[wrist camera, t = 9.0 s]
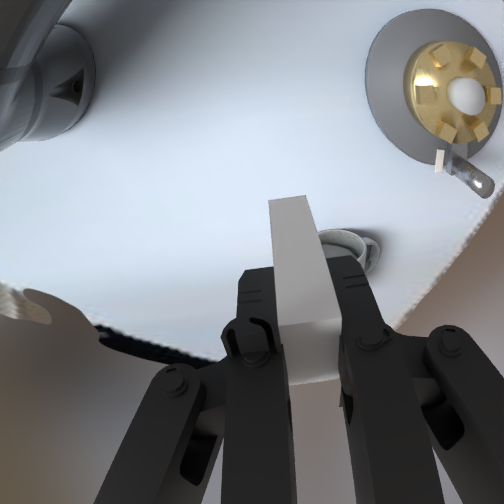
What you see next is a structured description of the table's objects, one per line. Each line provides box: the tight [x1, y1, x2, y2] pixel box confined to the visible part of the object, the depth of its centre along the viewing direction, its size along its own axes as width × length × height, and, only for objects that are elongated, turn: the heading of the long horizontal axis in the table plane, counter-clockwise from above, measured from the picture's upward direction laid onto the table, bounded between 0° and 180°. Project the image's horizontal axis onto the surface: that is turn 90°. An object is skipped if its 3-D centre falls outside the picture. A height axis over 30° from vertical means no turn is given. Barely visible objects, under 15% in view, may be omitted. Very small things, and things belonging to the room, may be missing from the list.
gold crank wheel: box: [403, 41, 501, 199], centre depth 26 cm, size 16×12×9 cm
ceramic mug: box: [318, 229, 380, 275], centre depth 41 cm, size 11×8×8 cm
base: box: [365, 9, 502, 173], centre depth 27 cm, size 20×20×7 cm
